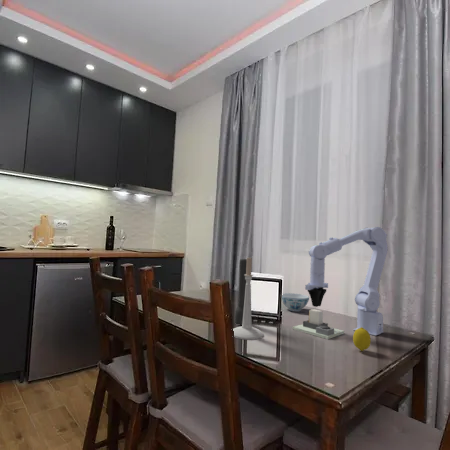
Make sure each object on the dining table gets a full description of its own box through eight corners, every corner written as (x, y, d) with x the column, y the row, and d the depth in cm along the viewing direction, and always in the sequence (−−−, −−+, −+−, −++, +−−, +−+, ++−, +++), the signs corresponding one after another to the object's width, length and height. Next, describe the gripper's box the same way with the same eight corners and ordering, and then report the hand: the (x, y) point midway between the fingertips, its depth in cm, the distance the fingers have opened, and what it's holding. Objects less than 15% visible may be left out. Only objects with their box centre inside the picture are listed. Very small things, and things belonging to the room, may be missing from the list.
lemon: (355, 347, 109) (356, 324, 110) (372, 351, 106) (372, 327, 106) (350, 351, 105) (351, 327, 105) (367, 355, 102) (368, 330, 102)
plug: (322, 328, 129) (322, 311, 130) (318, 329, 127) (318, 312, 127) (311, 325, 133) (312, 308, 133) (307, 326, 131) (307, 309, 131)
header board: (344, 333, 126) (344, 325, 126) (327, 339, 118) (327, 330, 118) (310, 324, 138) (310, 316, 138) (292, 329, 129) (292, 320, 130)
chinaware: (312, 309, 170) (312, 295, 170) (303, 314, 157) (304, 299, 158) (286, 305, 178) (286, 292, 178) (276, 310, 165) (276, 295, 165)
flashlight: (250, 326, 131) (250, 322, 138) (252, 260, 133) (253, 259, 140) (234, 325, 132) (235, 321, 139) (236, 259, 133) (237, 258, 140)
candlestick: (265, 332, 124) (267, 256, 126) (260, 341, 112) (263, 258, 113) (234, 328, 127) (237, 255, 129) (226, 337, 115) (229, 256, 117)
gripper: (318, 272, 139) (317, 302, 138) (299, 273, 129) (298, 306, 128) (332, 273, 133) (332, 305, 133) (314, 275, 124) (313, 309, 123)
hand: (316, 306), depth 130 cm, fingers closed
